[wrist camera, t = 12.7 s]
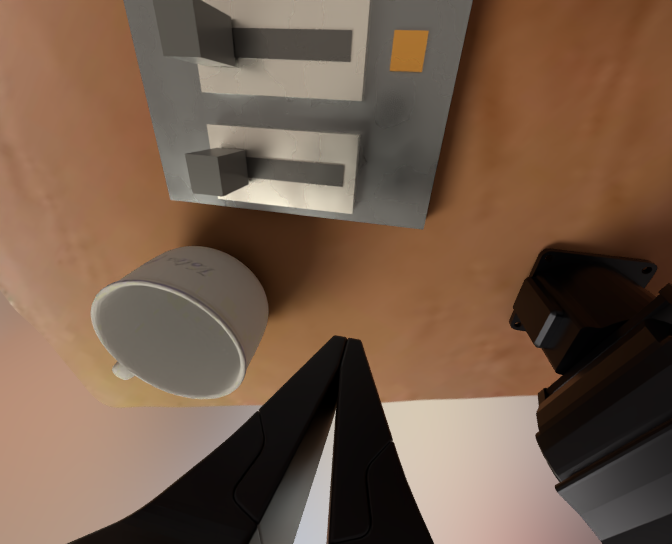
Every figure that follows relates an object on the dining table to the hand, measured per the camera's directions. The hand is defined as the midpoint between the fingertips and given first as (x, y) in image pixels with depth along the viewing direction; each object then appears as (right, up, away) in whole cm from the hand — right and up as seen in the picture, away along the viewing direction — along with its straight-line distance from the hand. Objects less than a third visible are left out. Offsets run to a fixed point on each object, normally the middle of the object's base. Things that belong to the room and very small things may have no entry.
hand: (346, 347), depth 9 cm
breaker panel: (-3, +15, +8) cm, 17 cm away
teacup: (-12, +1, +18) cm, 21 cm away
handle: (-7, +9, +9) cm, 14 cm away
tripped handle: (-6, +14, +6) cm, 16 cm away
